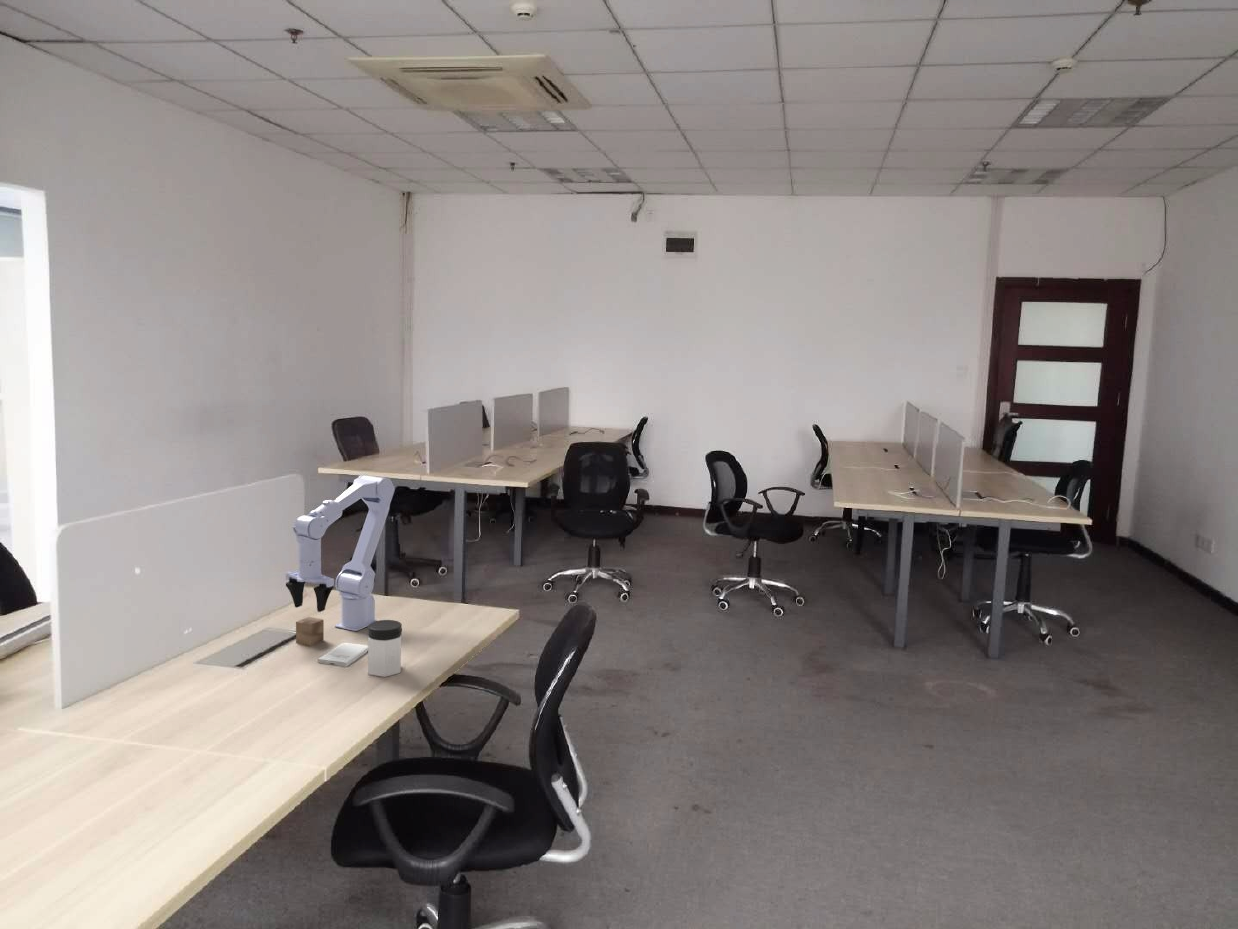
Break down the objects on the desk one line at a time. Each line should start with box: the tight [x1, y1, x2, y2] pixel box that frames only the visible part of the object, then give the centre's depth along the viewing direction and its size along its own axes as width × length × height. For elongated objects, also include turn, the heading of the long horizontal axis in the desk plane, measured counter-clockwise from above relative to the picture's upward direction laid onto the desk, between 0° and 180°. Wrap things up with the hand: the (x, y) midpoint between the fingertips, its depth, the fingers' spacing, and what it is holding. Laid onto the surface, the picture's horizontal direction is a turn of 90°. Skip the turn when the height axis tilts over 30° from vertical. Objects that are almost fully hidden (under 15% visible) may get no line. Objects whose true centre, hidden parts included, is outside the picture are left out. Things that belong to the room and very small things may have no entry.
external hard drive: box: [316, 642, 368, 667], centre depth 219 cm, size 2×8×12 cm
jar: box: [367, 619, 403, 678], centre depth 210 cm, size 9×8×12 cm
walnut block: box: [295, 616, 325, 647], centre depth 228 cm, size 5×5×6 cm
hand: (309, 608), depth 226 cm, fingers open, 7 cm apart
